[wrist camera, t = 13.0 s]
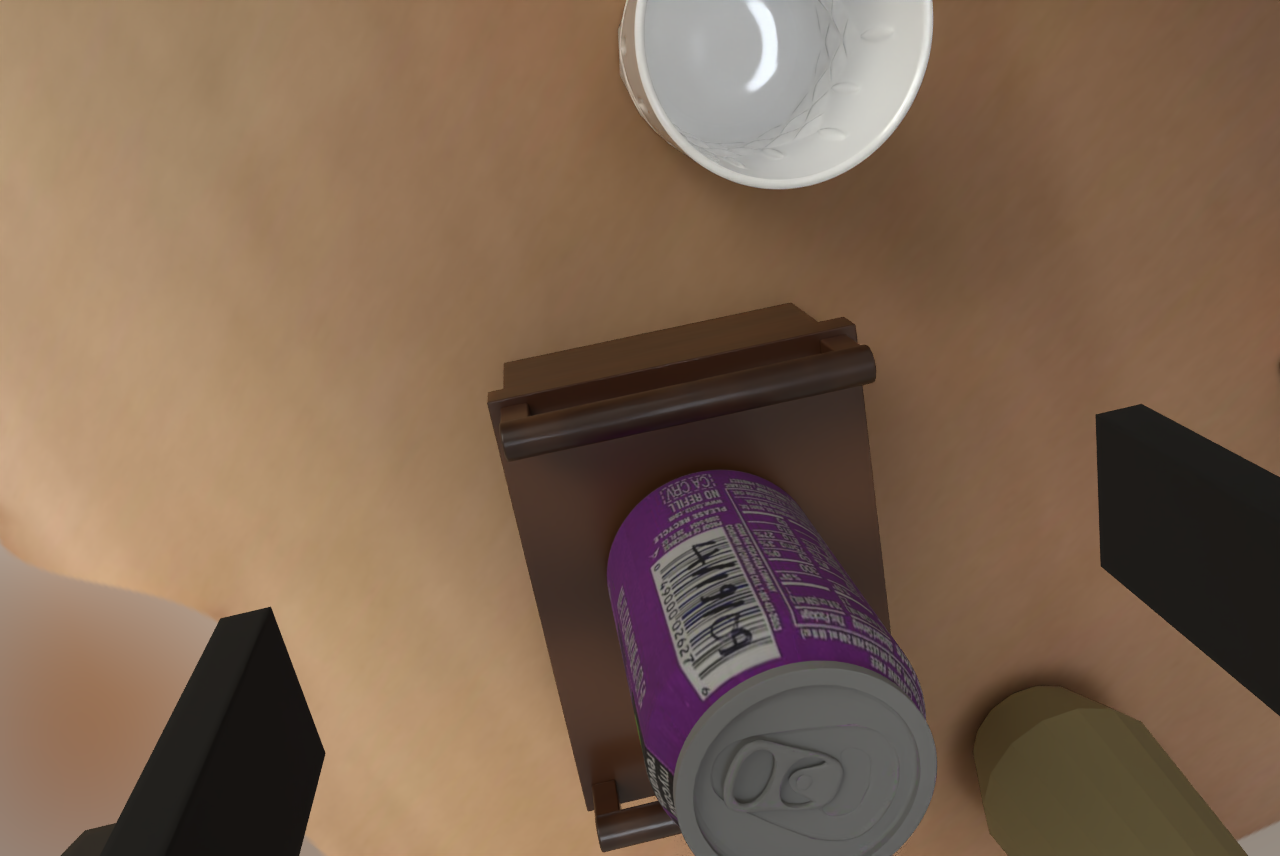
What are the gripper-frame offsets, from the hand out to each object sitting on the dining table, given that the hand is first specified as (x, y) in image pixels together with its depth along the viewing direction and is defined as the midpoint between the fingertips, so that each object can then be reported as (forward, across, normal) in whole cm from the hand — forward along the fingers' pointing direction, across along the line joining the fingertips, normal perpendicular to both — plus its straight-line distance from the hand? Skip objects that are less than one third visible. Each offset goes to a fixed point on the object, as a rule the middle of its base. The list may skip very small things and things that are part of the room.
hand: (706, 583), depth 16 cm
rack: (+23, +2, -10) cm, 25 cm away
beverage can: (+17, +2, -9) cm, 19 cm away
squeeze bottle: (+23, +16, -25) cm, 37 cm away
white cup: (+24, +6, +7) cm, 25 cm away
